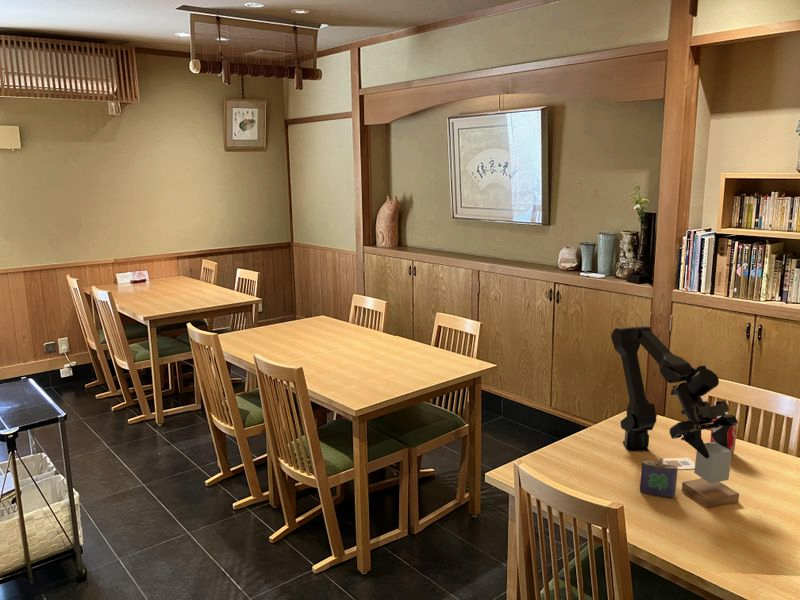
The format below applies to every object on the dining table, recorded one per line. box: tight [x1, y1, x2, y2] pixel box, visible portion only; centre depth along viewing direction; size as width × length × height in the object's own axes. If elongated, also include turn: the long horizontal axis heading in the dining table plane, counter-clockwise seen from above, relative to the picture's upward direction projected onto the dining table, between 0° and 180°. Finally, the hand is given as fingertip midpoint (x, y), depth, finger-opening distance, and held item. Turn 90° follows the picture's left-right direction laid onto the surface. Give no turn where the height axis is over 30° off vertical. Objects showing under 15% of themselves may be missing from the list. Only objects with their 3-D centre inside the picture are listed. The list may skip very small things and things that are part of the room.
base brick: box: [681, 478, 740, 509], centre depth 178 cm, size 10×10×3 cm
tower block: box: [693, 441, 733, 483], centre depth 177 cm, size 6×6×8 cm
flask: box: [639, 457, 678, 499], centre depth 179 cm, size 9×3×11 cm, turn 68°
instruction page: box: [657, 457, 695, 470], centre depth 197 cm, size 10×7×1 cm
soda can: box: [709, 413, 738, 455], centre depth 204 cm, size 7×7×12 cm
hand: (717, 456), depth 175 cm, fingers closed on tower block, 6 cm apart
